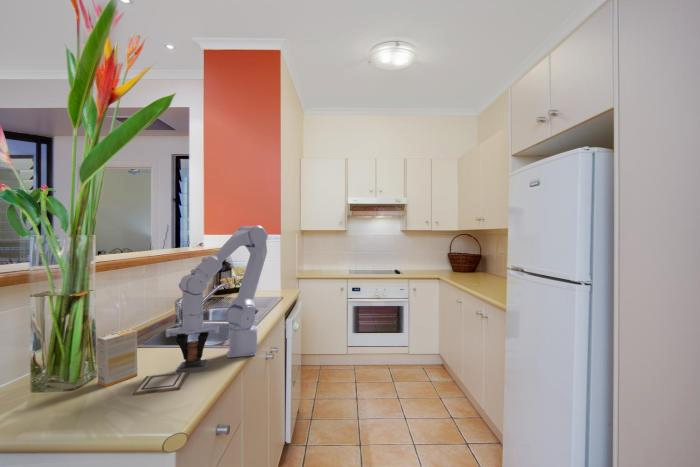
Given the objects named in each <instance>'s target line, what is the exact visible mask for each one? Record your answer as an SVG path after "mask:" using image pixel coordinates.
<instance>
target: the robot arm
mask: <svg viewBox="0 0 700 467" xmlns="http://www.w3.org/2000/svg"><path fill="white" fill-rule="evenodd" d="M268 236H269V235H268V233H267V231H266V228H264V227H263V226H262V225H259V224H258V225H242V226H240V227H239V228H238V229H237V230H236V231H234V232H233V233H232V235H231V237H229V239H228V240H227V241H226V242H225V243H224V244H223V245H222V246H221V247H220V248H219V249H218V251H217V252H216V253H215V254H214V255H208V256H206V257H203V258H201V262H200V263H199V264H198V265H197V266H195V267H194V268H192V269H191V270H189V271H190V273H188V274H185V275H184V276H182V278H181V279H180V282H179V283H178V287H179V289H180V291H181V292H182V303H181V304H182V311H181V312H182V326H180V327H174V328H173V327H172V328H167V329H166V330H165V337H166V338H170V337H176V338H175V341H176V342H175V343H177V345H178V346H179V347H180V350H181V353H182V357H183V360H184V361H186V360H187V342H189V335H198V336H197V341H198V343H199V354H198V357H199V358H201V359H202V357H203V352H204V348H205V345H206V343H207V340H208V337H209V335H210V334H218V333H220V325H218V324H213V325H212V324H211V325H209V324H207V325H206V324H204V291H205V290H206V289H207V287H208V282H209V281H211V280H212V278H214V276H215V275H217V273H218V272H219V271H220V270H221V269H222V268H223V262H224V261H226V260H227V259H228V258H229V257H230V256H231V255H232V254H234V252H235V251H237V250H238V248H240V247H243V246H244V247H245V248H246V249H247V251H248V253H249V257H248V261H247V262H246V263H247V264H246V267H245V271H244V274H243V277H242V279H241V284H240V287H239V291H238V293H237V296H236V298H234V299H233V300H232V301H231V304H230V305H229V307H228V308H227V310H226V312H225V314H224V315H225V316H224V317H225V320H226V322H227V323H228V336H229V337H228V343H229V344H228V346H229V349H228V352H227V354H226V358H227V359H228V358H237V357H246V356H247V357H249V356H256V355H258V348H259V341H258V325H254V324H255V320H256V309H257V306H256V304H255V302H254V298H255V294H256V292H257V288H258V284H259V281H260V278H261V275H262V272H263V271H262V270H263V268H264V263H265V261H266V257H267V253H268V248H267V247H268V246H267V240H268Z"/></svg>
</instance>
